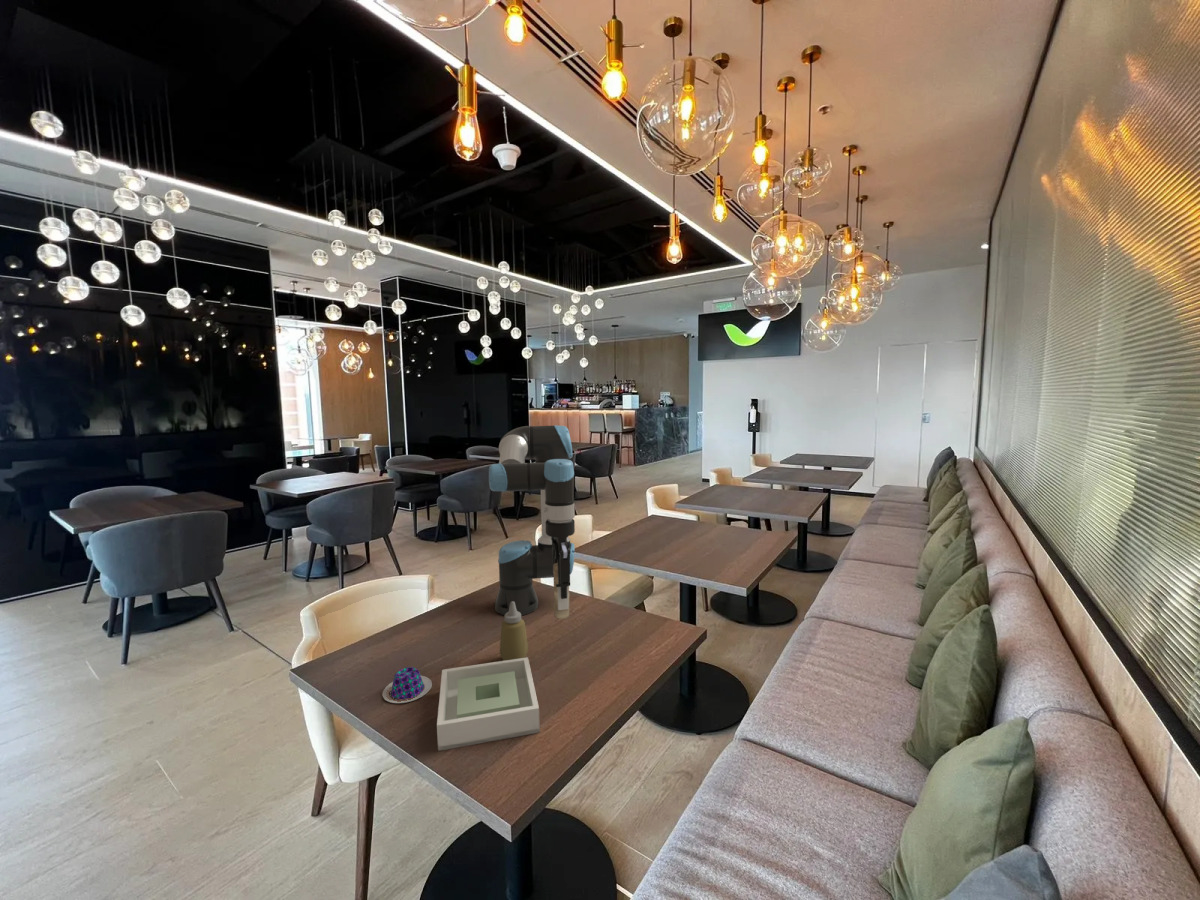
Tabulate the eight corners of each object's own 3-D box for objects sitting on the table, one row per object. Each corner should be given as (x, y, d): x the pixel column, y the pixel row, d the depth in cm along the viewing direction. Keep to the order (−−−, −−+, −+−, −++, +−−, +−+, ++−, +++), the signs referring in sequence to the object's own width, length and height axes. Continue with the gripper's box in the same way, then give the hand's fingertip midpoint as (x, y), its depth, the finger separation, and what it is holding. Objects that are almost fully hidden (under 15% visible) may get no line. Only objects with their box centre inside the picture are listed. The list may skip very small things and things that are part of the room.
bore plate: (458, 694, 125) (458, 679, 124) (514, 685, 128) (514, 671, 128) (457, 731, 112) (456, 714, 111) (520, 720, 115) (519, 704, 115)
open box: (443, 691, 128) (442, 669, 127) (528, 678, 133) (527, 657, 133) (438, 751, 107) (436, 725, 106) (539, 732, 112) (539, 708, 112)
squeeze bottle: (522, 671, 137) (520, 609, 134) (495, 668, 138) (493, 607, 136) (532, 656, 144) (530, 597, 142) (506, 653, 146) (504, 595, 144)
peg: (553, 613, 133) (552, 563, 131) (567, 611, 134) (566, 561, 132) (555, 619, 129) (554, 568, 127) (570, 617, 130) (570, 566, 128)
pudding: (412, 673, 137) (411, 655, 136) (441, 686, 131) (440, 667, 130) (372, 696, 127) (371, 677, 126) (402, 711, 120) (401, 691, 120)
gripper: (540, 512, 135) (542, 594, 138) (551, 529, 119) (553, 621, 122) (567, 510, 137) (569, 591, 140) (581, 526, 121) (582, 617, 124)
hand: (561, 605), depth 131 cm, fingers closed on peg, 4 cm apart
